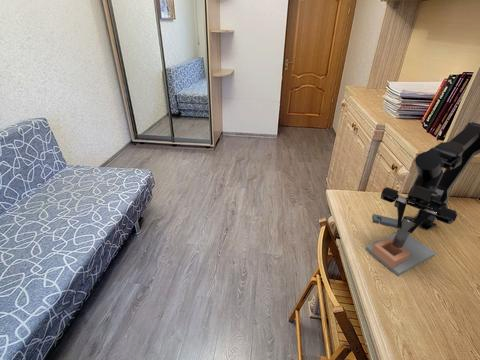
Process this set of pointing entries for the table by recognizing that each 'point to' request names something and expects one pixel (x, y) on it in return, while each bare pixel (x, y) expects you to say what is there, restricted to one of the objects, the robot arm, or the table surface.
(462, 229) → the table surface
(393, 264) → the socket base
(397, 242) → the peg
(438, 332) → the table surface
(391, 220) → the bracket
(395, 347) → the table surface
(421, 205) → the robot arm
